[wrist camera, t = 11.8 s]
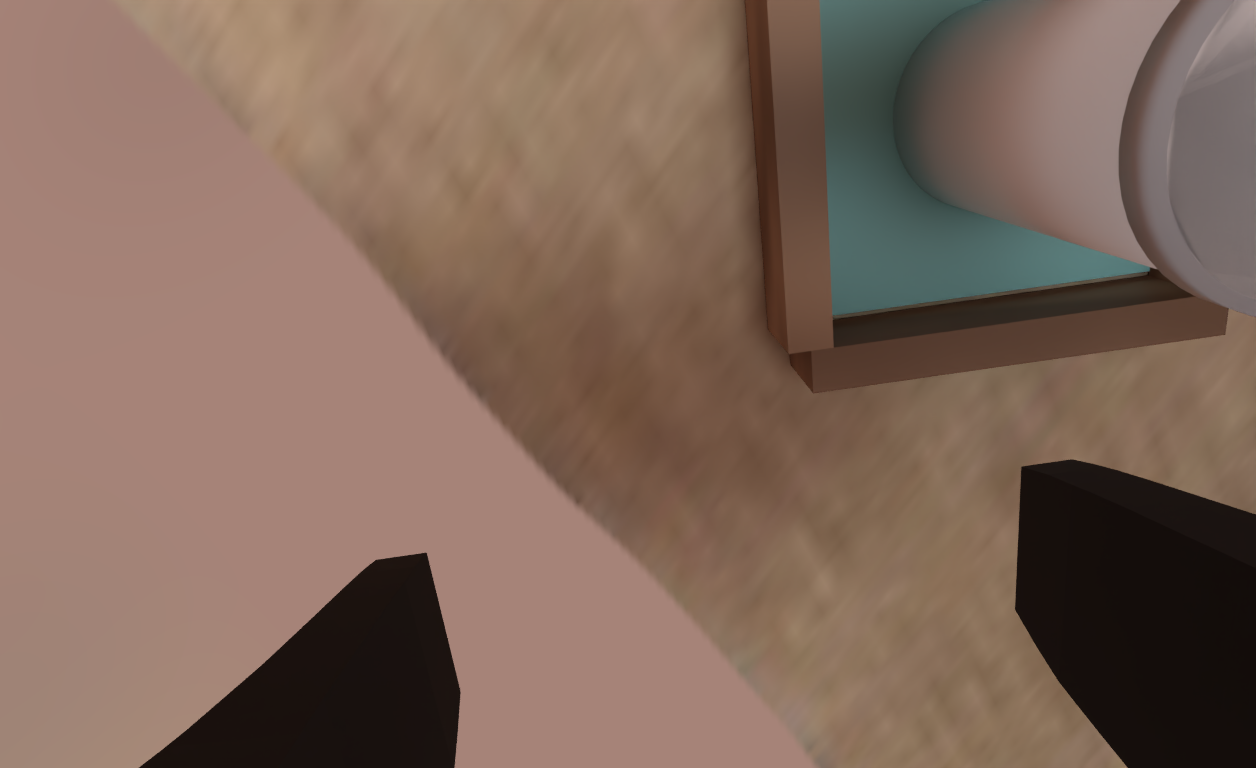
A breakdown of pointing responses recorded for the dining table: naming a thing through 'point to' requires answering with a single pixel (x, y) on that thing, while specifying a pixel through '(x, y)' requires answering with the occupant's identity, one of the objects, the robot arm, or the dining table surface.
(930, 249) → the brown flat frame
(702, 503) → the dining table surface
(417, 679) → the robot arm
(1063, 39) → the tube
